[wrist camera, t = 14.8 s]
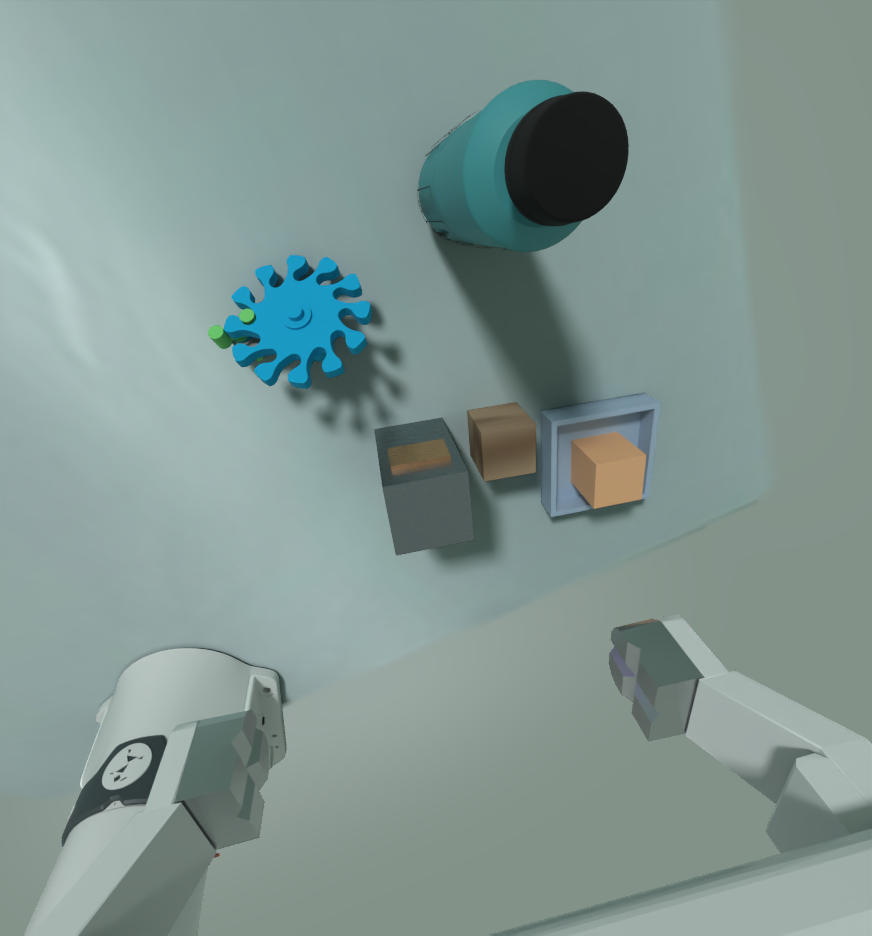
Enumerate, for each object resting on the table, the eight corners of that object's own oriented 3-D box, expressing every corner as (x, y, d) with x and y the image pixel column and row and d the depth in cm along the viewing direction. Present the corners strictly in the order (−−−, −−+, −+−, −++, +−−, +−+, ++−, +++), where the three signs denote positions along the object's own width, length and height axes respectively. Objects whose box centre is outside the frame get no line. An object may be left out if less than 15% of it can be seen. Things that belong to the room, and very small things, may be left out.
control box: (449, 479, 45) (474, 543, 36) (386, 490, 44) (396, 558, 35) (441, 413, 41) (467, 466, 33) (373, 425, 41) (381, 482, 32)
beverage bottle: (413, 242, 35) (482, 269, 17) (411, 131, 32) (493, 29, 14) (499, 242, 36) (646, 267, 18) (505, 134, 32) (691, 42, 15)
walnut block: (517, 447, 44) (535, 472, 40) (470, 455, 44) (484, 481, 40) (516, 402, 42) (535, 423, 38) (466, 410, 42) (481, 432, 37)
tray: (634, 484, 49) (648, 497, 46) (541, 502, 48) (550, 517, 45) (644, 392, 44) (660, 402, 42) (540, 411, 43) (551, 421, 41)
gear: (365, 240, 33) (372, 371, 30) (379, 294, 38) (386, 408, 36) (207, 258, 33) (200, 389, 30) (244, 309, 39) (241, 423, 36)
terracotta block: (613, 472, 47) (641, 499, 42) (570, 481, 46) (593, 508, 42) (617, 431, 45) (646, 454, 40) (571, 440, 44) (596, 464, 40)
